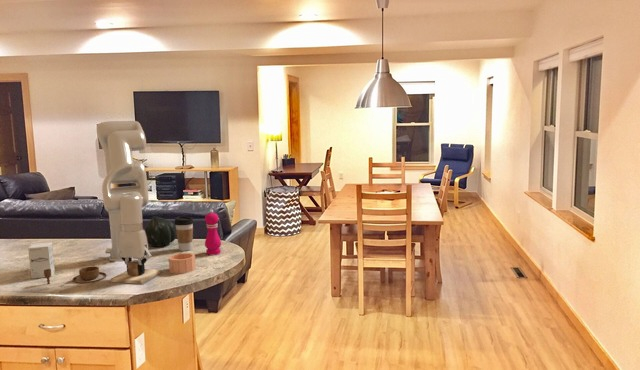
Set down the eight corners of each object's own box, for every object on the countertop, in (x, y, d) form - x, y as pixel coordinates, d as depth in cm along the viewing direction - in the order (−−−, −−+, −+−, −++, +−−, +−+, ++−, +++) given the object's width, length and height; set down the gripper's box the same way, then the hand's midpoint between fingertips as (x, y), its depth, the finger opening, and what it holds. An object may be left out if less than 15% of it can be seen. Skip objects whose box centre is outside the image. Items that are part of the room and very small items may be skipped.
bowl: (164, 274, 200) (163, 259, 199) (177, 266, 210) (176, 252, 209) (187, 275, 198) (186, 260, 197) (199, 267, 207) (199, 253, 207)
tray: (107, 284, 190) (106, 282, 190) (131, 271, 204) (130, 270, 204) (142, 286, 186) (142, 284, 186) (164, 273, 201) (164, 272, 201)
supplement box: (30, 279, 198) (27, 247, 196) (35, 273, 205) (32, 243, 203) (51, 277, 200) (48, 246, 198) (55, 271, 207) (52, 241, 205)
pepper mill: (217, 255, 224) (215, 211, 221) (202, 255, 226) (200, 211, 223) (224, 251, 231) (221, 208, 228) (209, 250, 233) (207, 207, 230)
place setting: (87, 290, 185) (85, 274, 185) (41, 286, 191) (40, 271, 190) (117, 275, 202) (116, 260, 201) (75, 272, 207) (73, 258, 206)
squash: (186, 229, 251) (164, 208, 250) (174, 238, 237) (152, 215, 236) (166, 248, 254) (145, 226, 253) (154, 257, 240) (132, 235, 239)
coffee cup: (178, 247, 240) (176, 216, 238) (196, 246, 241) (194, 215, 239) (174, 252, 232) (172, 220, 230) (193, 251, 232) (191, 219, 230)
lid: (111, 281, 191) (109, 265, 190) (131, 271, 203) (130, 256, 202) (141, 283, 188) (140, 267, 187) (160, 272, 200) (159, 257, 199)
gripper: (107, 228, 191) (111, 275, 194) (146, 230, 187) (150, 278, 190) (119, 224, 198) (123, 269, 201) (157, 225, 194) (160, 272, 197)
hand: (136, 273), depth 195 cm, fingers closed on lid, 4 cm apart
